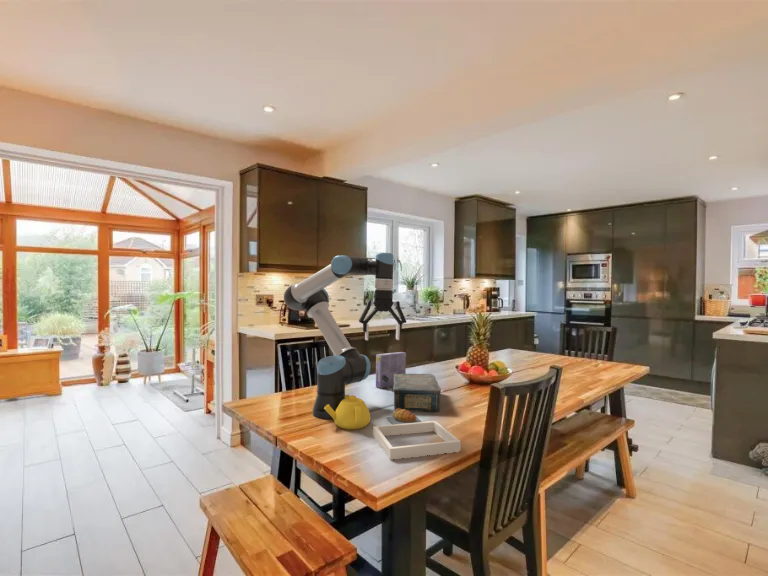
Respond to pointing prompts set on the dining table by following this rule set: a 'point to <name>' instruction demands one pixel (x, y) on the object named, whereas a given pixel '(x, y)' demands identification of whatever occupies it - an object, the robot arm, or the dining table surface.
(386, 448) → the white shallow tray
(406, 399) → the metal box
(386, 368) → the cake pan box
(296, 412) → the dining table surface
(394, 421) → the mat
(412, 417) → the pastry
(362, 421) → the teapot
